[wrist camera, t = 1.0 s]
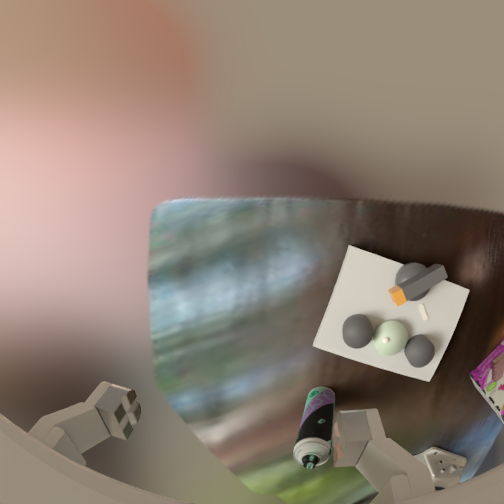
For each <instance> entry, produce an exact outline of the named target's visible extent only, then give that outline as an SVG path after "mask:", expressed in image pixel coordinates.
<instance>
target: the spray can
mask: <svg viewBox="0 0 504 504" xmlns="http://www.w3.org/2000/svg"><path fill="white" fill-rule="evenodd" d="M334 411H335V394H334V392H333V391H332V390H331V389H330V388H328V387H324V386H320V387H316V388H314V389H312V390H311V391H310V392H309V394H308V397H307V401H306V405H305V409H304V413H303V417H302V421H301V425H300V429H299V433H298V436H297V440H296V444H295V447H294V454H293V455H294V458H295V460H296V461H297V462H298V463H300V464H302V465H303V466H304V467H306V468H315V466H319V465H322V464H324V463H325V462H326V461H327V460H328V459H329V457H330V454H331V447H332V432H333V425H334Z"/></svg>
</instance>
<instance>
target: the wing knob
mask: <svg viewBox="0 0 504 504" xmlns="http://www.w3.org/2000/svg"><path fill="white" fill-rule="evenodd" d="M446 278H448V276H447V274H446V271H445V268H444V266H443V265H440V264H434V265H432V266H431V267H429V268H426V267H425V266H424V265H422V264H419V263H415V262H410V263H407V264H405V265H403V266H402V267H401V268H400V269H399V270H398V272H397V274H396V278H395V285H396V286H394V287H392V288H390V289H388V291H389V294H390V296H391V298H392V301H393V302H394V303H395V304H396V305H397V306H400V305H402V304H404V303H405V302H407V301H408V300H409V301H418V300H420V299H422V298H424V297H425V296H426V295H427V293H428V292H429V290H430V288H431V287H433V286H434V285H436V284H438V283H440V282H441V281H443V280H444V279H446Z"/></svg>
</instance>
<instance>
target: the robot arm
mask: <svg viewBox="0 0 504 504" xmlns="http://www.w3.org/2000/svg"><path fill="white" fill-rule="evenodd" d="M136 397H137V396H136V393H135V391H134V390H131V389H128V388H124V387H121V386H118V385H114V384H111V383H108V382H105V381H104V382H101V383H100V384H99V386H98V387H97V388H96V389H95V390H94V392H93V393H92V394H91V396H90V397H89V398H88V399H87V400H86V402H85V403H82V402H81V403H78V404H76V405H73V406H71V407H68V408H65V409H63V410H60V411H57V412H54V413H52V414H49V415H46V416H43V417H42V418H40V420H39V421H38V422H37V423H36V424H35V425H34V427H33V428H32V429H31V430H30V431H29V433H26V432H25V431H23V430H22V429H20V428H19V427H18V426H16V425H15V424H14V423H12V422H11V421H10V420H8V419H7V418H6V417H4V416H3V415H2V414H0V504H194V503H189V502H185V501H180V500H176V499H173V498H168V497H165V496H162V495H158V494H155V493H151V492H148V491H145V490H142V489H139V488H136V487H133V486H130V485H128V484H125V483H122V482H120V481H117V480H115V479H112V478H110V477H107V476H105V475H102V474H100V473H98V472H96V471H94V470H92V469H89V468H87V467H85V465H86V461H85V460H84V458H83V457H82V456H81V453H83V452H84V451H86V450H88V449H90V448H91V447H93V446H95V445H96V444H98V443H99V442H101V441H103V440H105V439H106V438H108V437H109V436H110V435H112V436H115V437H118V438H121V439H125V440H127V439H128V438H129V436H130V434H131V433H132V431H133V428H132V425H134V424H136V423H137V422H138V420H139V418H140V414H141V407H140V404H139V403H138V402H137V401H136V400H135V398H136ZM336 418H337V423H335V424H334V427H333V432H332V445H333V446H334V447H335V451H334V454H333V456H334V466H335V467H345V466H356V468H357V469H358V470H359V471H360V472H361V474H362V475H363V476H364V477H365V478H366V479H367V480H368V481H369V482H370V484H371V485H372V486H373V487H374V488H375V489H376V490H377V491H378V492H379V494H378V495H377V496H376V497H375V498H374V499H373V501H372V502H371V503H370V504H504V463H503V464H500V465H498V466H497V467H495V468H493V469H491V470H489V471H487V472H485V473H483V474H480V475H478V476H476V477H474V478H471V479H469V480H466V481H464V482H462V483H459V482H460V479H461V471H462V470H463V468H464V466H465V464H466V461H467V460H466V458H465V457H463V456H460V455H457V454H454V453H451V452H448V451H445V450H443V449H440V448H437V447H431V448H429V449H427V450H426V451H424V452H423V453H420V454H418V455H414V456H412V455H411V454H410V453H408V452H407V451H406V450H404V449H403V448H402V447H401V446H399V445H398V444H397V443H395V442H394V441H393V440H392V439H390V438H386V436H385V433H384V429H383V426H382V422H381V419H380V416H379V412H378V410H377V409H376V408H375V409H364V410H363V409H362V410H349V411H339V412H338V414H337V417H336ZM458 483H459V484H458Z"/></svg>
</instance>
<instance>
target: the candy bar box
mask: <svg viewBox="0 0 504 504" xmlns="http://www.w3.org/2000/svg"><path fill="white" fill-rule="evenodd" d="M469 375H470V377H471V379H472V381H473V383H474V385H475V387H476V388H477V390H478V391H479V392H480V393H481V394H482V396H483V397H484V398H485V399H486V401H487V402H488V403H489V405H490V406H491V407H492V409H493V410H494V411H495V412H496V414H497V415H498V416H499V418H500V419H501V421H502V422H503V423H504V339H503V340H502V341H501V342H500V343H499V344H498V346H497V347H496V348H495V349H494V350H493V351H492V352H491V353H490V354H489V355H488V356H487V357H486V358H485V359H484V360H483V361H482V362H481V363H480V364H479V365H478V366H477V367H476V368H475V369H474V370H473V371H472V372H471V373H470V374H469Z"/></svg>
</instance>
